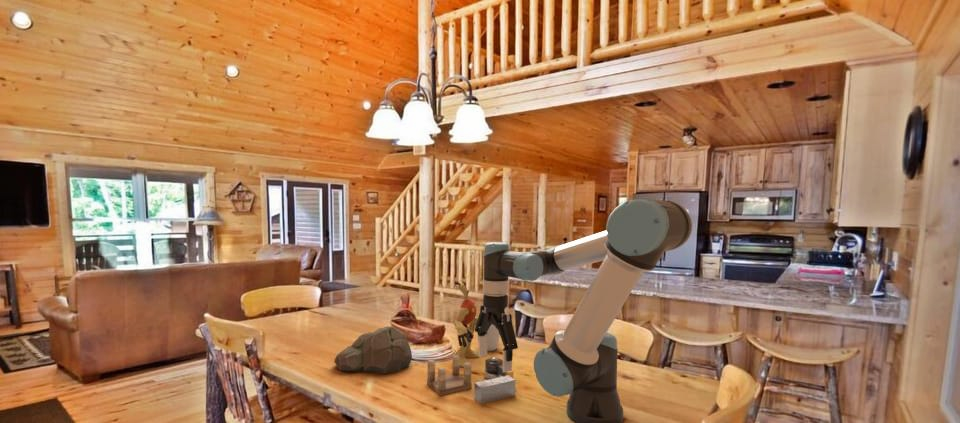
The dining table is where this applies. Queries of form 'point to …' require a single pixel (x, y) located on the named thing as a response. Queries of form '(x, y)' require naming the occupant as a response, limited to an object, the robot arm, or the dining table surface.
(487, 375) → the base
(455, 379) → the rack
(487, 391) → the bar
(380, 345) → the decorative rock
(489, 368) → the dark grey mechanical part
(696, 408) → the dining table surface
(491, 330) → the mug
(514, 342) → the robot arm
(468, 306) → the toy
